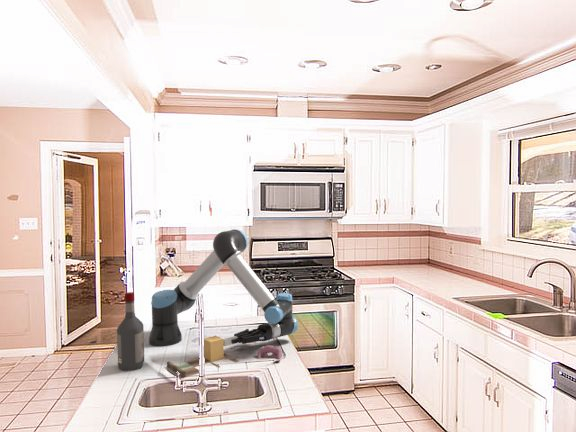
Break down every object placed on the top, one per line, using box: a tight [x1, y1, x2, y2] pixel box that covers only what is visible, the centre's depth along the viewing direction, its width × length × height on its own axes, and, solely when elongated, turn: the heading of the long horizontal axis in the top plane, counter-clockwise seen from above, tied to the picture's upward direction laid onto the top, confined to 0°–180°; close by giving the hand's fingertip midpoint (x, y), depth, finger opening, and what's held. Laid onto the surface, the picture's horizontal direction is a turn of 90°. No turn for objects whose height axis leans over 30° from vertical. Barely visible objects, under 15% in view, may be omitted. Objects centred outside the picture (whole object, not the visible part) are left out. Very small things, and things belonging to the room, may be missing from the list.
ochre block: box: [203, 335, 225, 362], centre depth 184 cm, size 6×6×8 cm
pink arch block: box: [257, 344, 282, 363], centre depth 185 cm, size 10×5×7 cm, turn 84°
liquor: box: [116, 291, 145, 372], centre depth 179 cm, size 9×9×30 cm
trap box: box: [166, 353, 240, 379], centre depth 177 cm, size 14×25×4 cm, turn 130°
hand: (223, 342), depth 186 cm, fingers closed
